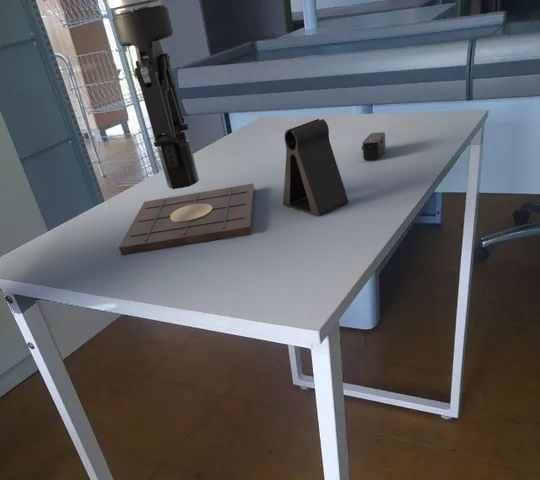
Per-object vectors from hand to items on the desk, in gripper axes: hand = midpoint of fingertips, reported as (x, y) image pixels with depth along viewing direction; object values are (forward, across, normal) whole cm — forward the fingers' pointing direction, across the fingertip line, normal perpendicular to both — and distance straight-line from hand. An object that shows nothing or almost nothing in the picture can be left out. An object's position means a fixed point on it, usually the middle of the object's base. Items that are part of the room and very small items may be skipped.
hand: (183, 180), depth 86 cm
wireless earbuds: (+7, +19, -32) cm, 38 cm away
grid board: (+6, 0, 0) cm, 6 cm away
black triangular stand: (+7, -2, -20) cm, 21 cm away
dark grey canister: (0, 0, 0) cm, 0 cm away
